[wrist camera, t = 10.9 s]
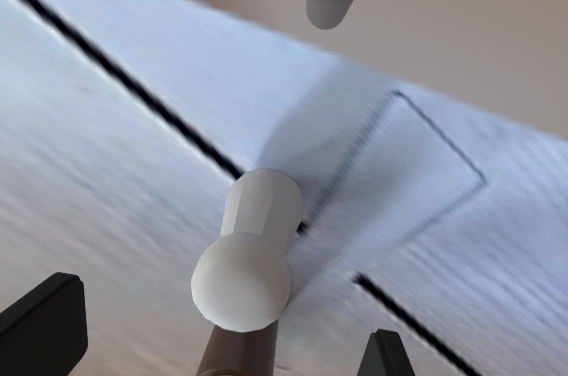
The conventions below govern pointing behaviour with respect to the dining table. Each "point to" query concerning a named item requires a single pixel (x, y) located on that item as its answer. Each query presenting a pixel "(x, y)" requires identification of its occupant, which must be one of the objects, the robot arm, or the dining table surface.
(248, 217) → the salt shaker
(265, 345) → the pepper mill
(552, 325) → the dining table surface
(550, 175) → the dining table surface
